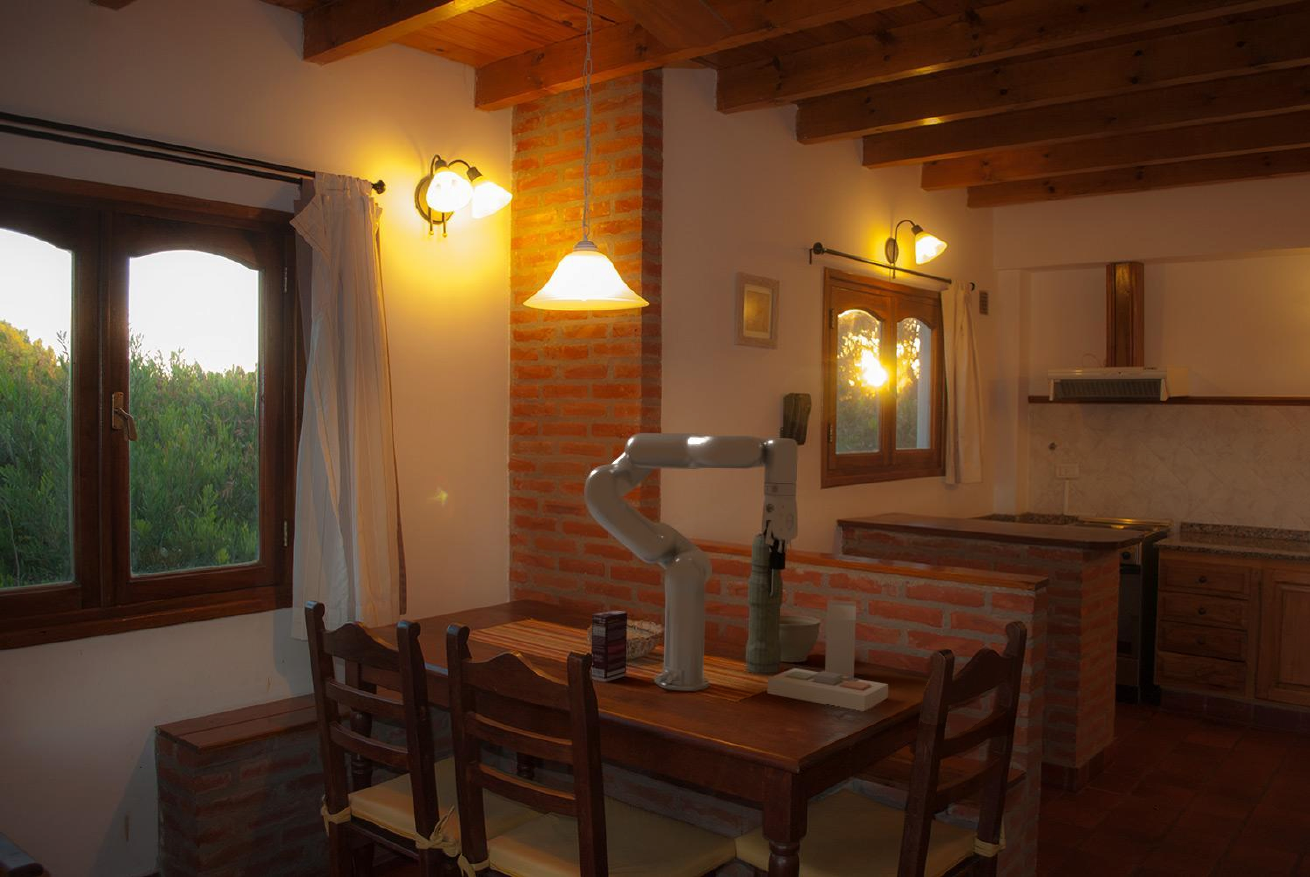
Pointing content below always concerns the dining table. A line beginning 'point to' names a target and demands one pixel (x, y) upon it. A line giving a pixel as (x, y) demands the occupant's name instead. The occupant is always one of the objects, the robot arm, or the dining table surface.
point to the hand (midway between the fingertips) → (777, 568)
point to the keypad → (827, 691)
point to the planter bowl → (797, 637)
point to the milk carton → (840, 637)
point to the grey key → (827, 678)
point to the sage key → (800, 675)
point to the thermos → (763, 612)
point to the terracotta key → (856, 685)
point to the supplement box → (609, 645)
